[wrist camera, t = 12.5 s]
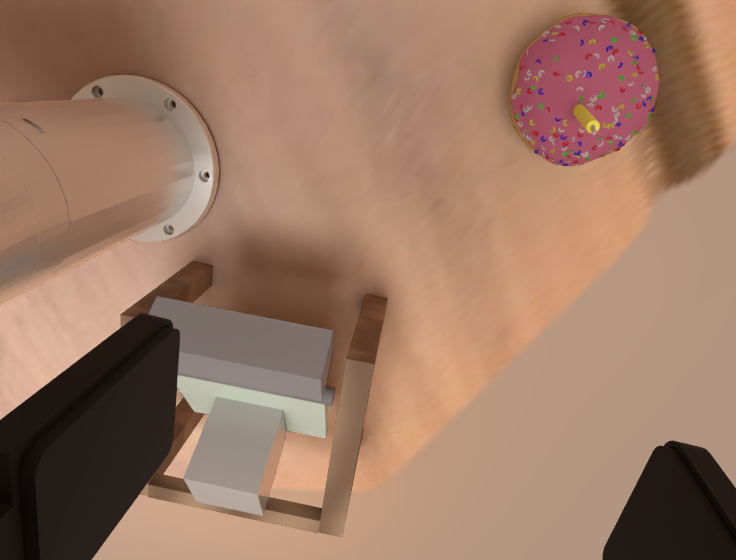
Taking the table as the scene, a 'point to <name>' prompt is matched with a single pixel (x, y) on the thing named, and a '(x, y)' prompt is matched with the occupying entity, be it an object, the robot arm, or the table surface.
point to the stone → (237, 456)
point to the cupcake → (583, 88)
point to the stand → (347, 428)
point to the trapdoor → (252, 362)
